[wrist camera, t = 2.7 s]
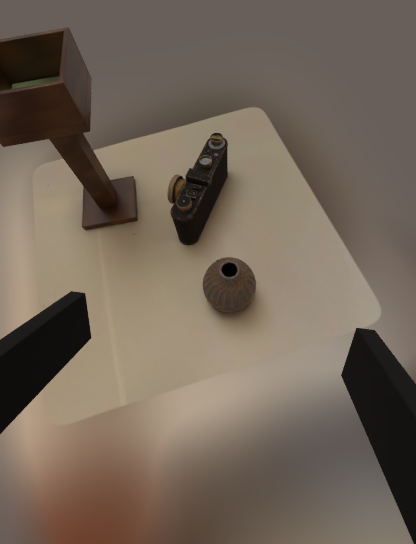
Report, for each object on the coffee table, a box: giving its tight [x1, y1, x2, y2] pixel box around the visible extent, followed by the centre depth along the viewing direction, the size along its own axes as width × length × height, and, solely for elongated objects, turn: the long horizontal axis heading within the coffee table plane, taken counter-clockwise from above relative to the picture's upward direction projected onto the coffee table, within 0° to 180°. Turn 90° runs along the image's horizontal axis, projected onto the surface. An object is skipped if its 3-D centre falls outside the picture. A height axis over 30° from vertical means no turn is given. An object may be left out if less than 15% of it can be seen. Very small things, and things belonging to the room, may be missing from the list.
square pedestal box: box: [0, 28, 138, 230], centre depth 35 cm, size 10×10×22 cm
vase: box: [203, 257, 256, 312], centre depth 34 cm, size 7×7×9 cm
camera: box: [168, 133, 228, 245], centre depth 41 cm, size 16×7×8 cm, turn 159°
